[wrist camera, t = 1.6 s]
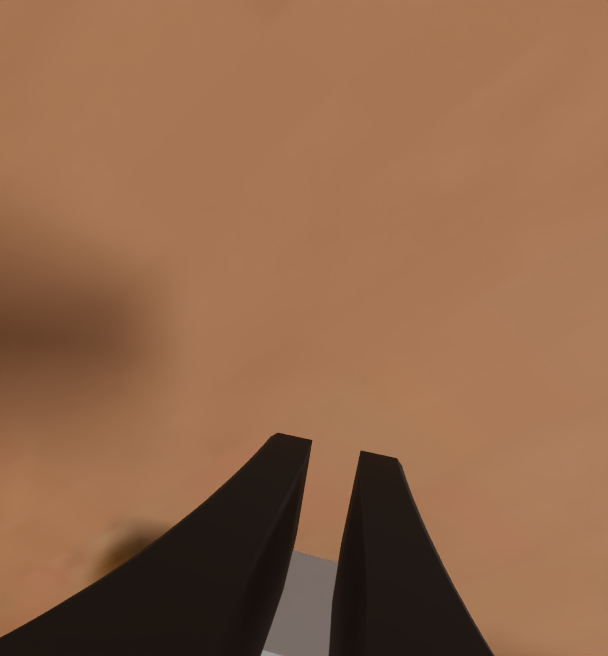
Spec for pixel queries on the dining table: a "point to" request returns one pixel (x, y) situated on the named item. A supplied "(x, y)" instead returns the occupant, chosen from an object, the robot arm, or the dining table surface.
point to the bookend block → (303, 609)
